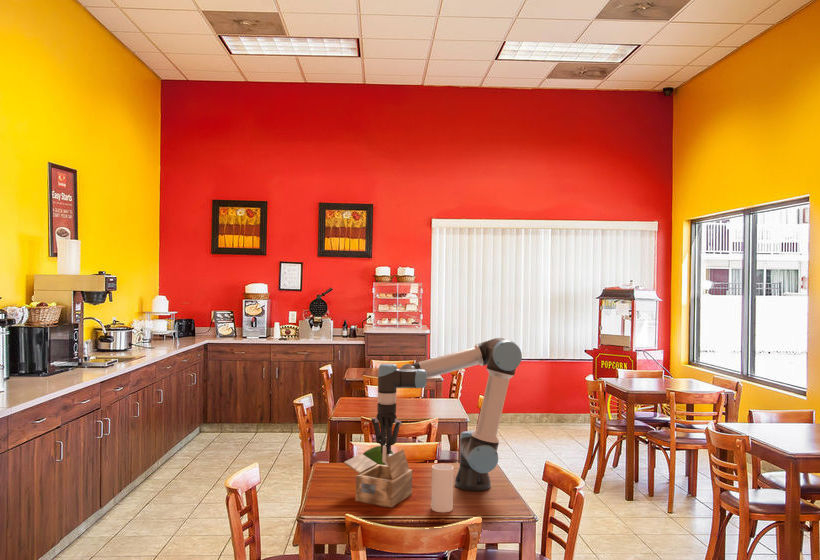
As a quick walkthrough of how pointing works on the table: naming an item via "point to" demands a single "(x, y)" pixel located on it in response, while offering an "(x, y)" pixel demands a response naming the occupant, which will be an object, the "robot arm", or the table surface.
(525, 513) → the table surface
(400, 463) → the flap
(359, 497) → the wooden box
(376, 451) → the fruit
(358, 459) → the flap
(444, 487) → the cup
